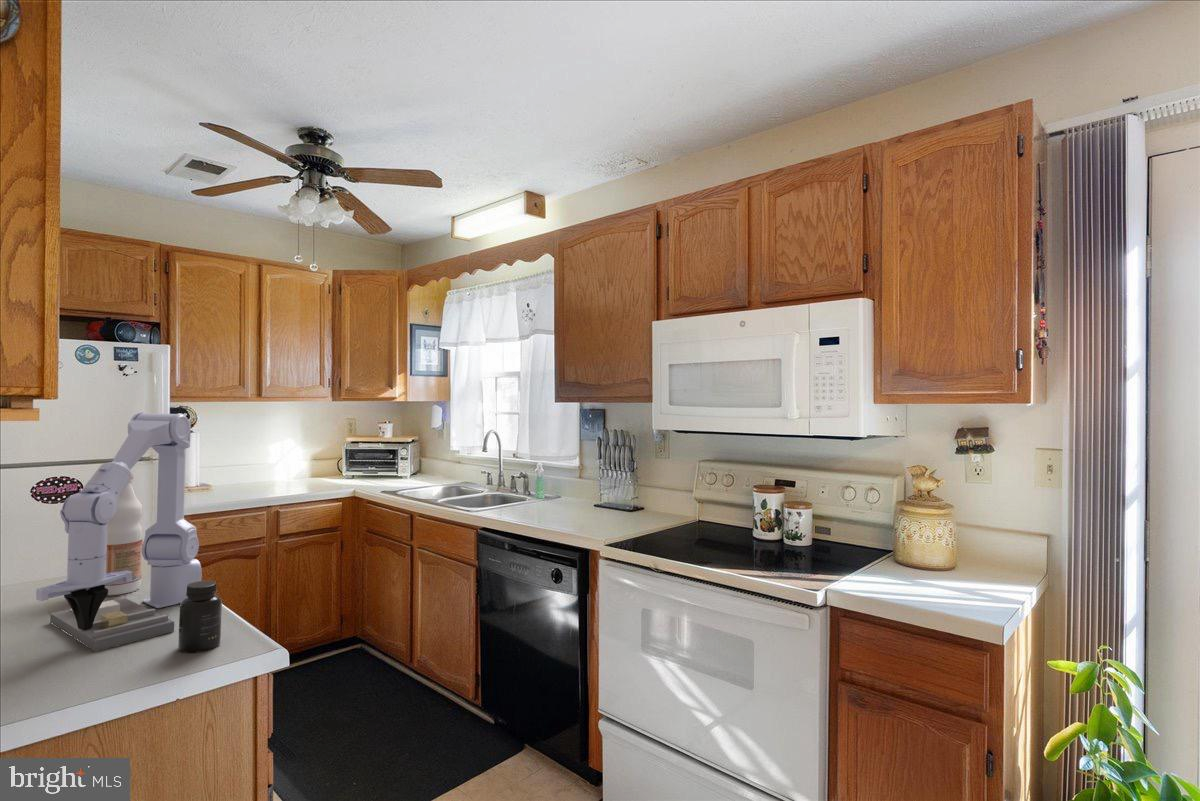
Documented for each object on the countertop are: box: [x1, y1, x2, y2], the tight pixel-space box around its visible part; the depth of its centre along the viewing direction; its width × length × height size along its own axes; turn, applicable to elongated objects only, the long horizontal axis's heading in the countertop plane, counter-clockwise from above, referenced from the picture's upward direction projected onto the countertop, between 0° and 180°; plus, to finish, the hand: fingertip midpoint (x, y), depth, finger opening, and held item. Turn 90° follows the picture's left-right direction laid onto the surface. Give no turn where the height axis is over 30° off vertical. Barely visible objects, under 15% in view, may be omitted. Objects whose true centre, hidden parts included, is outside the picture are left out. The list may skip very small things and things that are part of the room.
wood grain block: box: [101, 611, 128, 629], centre depth 122 cm, size 3×4×2 cm
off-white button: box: [94, 599, 120, 621], centre depth 127 cm, size 4×4×2 cm
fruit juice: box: [105, 474, 144, 597], centre depth 151 cm, size 9×9×28 cm
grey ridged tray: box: [49, 597, 175, 652], centre depth 127 cm, size 13×24×3 cm, turn 56°
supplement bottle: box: [178, 580, 223, 654], centre depth 119 cm, size 7×7×12 cm
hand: (85, 628), depth 118 cm, fingers closed
